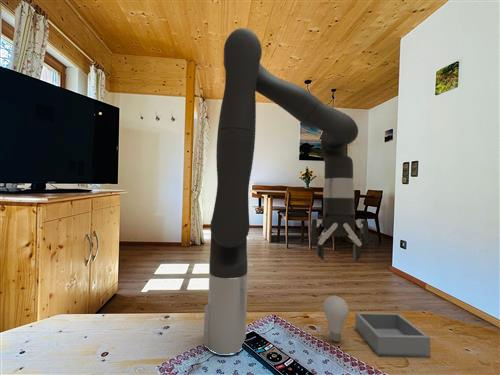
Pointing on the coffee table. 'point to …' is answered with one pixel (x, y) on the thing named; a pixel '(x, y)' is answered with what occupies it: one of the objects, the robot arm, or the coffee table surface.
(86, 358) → the coffee table surface
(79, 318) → the coffee table surface
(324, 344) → the coffee table surface
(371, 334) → the tray
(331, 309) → the lightbulb
